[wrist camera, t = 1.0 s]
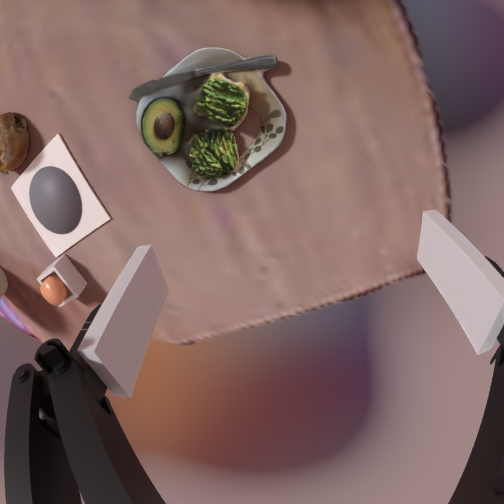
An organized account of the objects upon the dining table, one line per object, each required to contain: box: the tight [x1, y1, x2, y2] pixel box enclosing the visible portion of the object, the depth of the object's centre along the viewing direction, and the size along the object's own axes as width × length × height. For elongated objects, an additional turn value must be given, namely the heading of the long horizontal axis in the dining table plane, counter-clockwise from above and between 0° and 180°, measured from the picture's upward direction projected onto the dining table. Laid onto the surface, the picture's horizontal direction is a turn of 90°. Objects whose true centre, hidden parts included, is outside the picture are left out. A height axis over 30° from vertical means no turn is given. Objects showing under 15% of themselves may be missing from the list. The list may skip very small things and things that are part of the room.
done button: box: [40, 273, 70, 306], centre depth 42 cm, size 5×5×3 cm
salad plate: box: [129, 48, 287, 191], centre depth 31 cm, size 19×18×5 cm
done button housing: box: [37, 254, 88, 307], centre depth 44 cm, size 7×7×4 cm
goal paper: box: [11, 134, 111, 257], centre depth 38 cm, size 16×16×1 cm
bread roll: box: [0, 112, 29, 175], centre depth 31 cm, size 10×10×8 cm
